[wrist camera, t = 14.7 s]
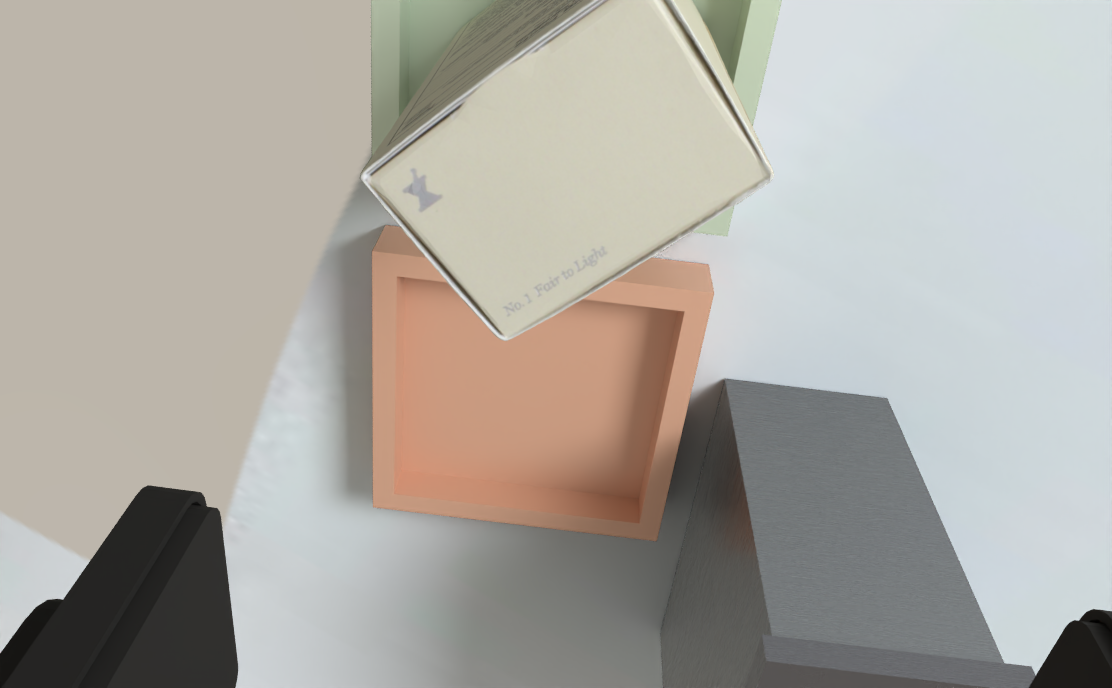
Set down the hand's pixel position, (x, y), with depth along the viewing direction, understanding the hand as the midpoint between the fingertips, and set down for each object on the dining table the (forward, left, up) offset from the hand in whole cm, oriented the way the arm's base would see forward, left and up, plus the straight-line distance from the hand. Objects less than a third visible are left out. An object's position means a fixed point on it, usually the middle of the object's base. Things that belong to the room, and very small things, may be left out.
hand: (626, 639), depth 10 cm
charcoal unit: (-8, +17, -21) cm, 28 cm away
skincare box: (+1, -2, -20) cm, 20 cm away
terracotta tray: (+2, +11, -21) cm, 23 cm away
